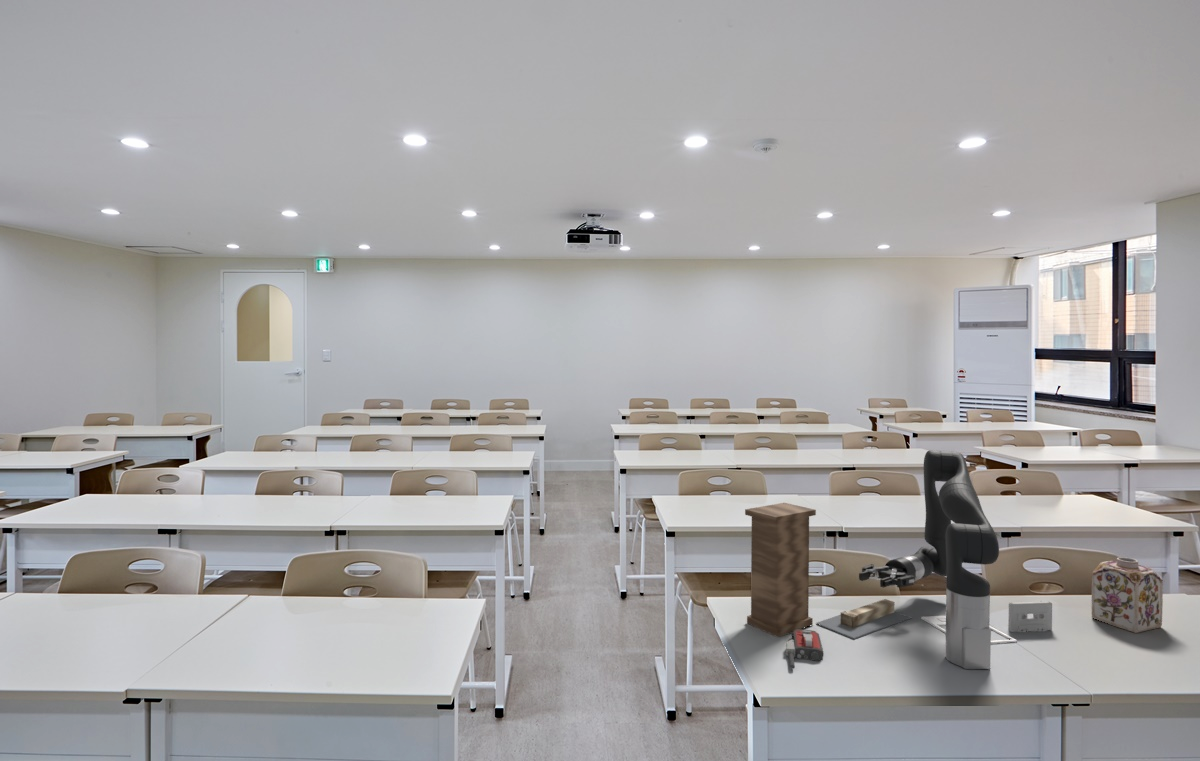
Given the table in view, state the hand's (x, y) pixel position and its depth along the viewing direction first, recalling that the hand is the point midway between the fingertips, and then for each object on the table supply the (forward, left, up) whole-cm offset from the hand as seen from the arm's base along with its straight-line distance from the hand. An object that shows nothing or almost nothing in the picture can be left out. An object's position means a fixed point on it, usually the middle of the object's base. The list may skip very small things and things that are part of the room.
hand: (870, 580), depth 183 cm
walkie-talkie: (-23, +25, -12) cm, 36 cm away
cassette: (-7, -40, -11) cm, 42 cm away
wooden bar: (0, +1, -11) cm, 11 cm away
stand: (-5, +27, -11) cm, 29 cm away
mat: (-2, +3, -11) cm, 11 cm away
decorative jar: (-1, -70, -11) cm, 71 cm away
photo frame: (-7, -23, -12) cm, 27 cm away
